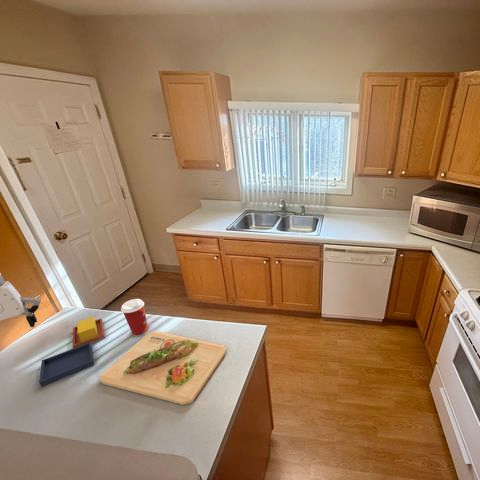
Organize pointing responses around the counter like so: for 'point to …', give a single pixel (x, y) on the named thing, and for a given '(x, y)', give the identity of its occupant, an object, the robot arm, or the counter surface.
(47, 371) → the baking tray
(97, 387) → the counter surface
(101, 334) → the sponge dish
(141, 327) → the paper cup
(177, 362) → the cutting board
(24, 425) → the counter surface
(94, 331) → the sponge
